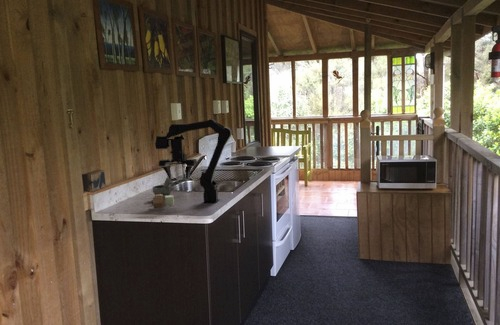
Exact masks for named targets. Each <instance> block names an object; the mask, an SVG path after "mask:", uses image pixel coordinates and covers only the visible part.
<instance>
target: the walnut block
mask: <svg viewBox="0 0 500 325" xmlns="http://www.w3.org/2000/svg"><path fill="white" fill-rule="evenodd" d="M152 203H153V205H152V206H153V207H154V208H163V207H165V206H166V200H165V196H155V195H154V196H153V197H152Z"/></svg>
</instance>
